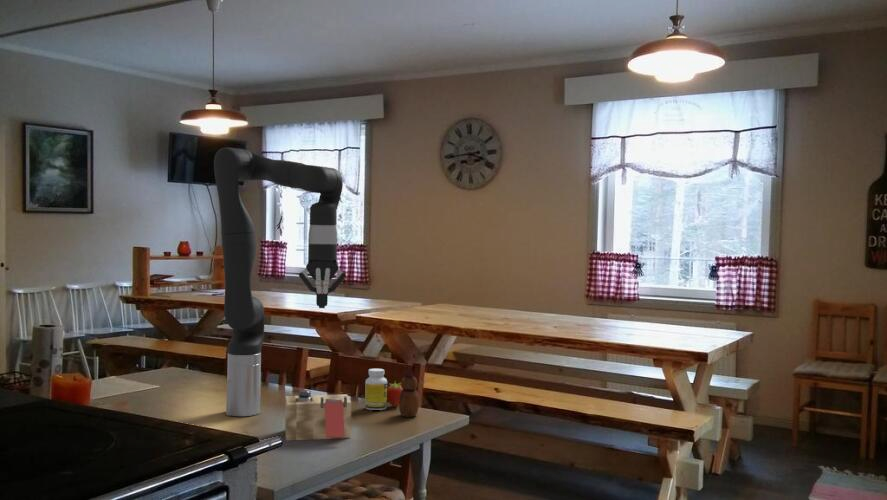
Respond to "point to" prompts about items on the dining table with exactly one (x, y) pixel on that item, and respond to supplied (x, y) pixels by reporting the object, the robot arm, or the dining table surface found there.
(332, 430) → the keeper tab
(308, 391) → the steel pin
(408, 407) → the wooden figurine
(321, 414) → the hitch block
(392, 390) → the fruit
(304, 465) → the dining table surface
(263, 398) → the dining table surface
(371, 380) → the pill bottle
